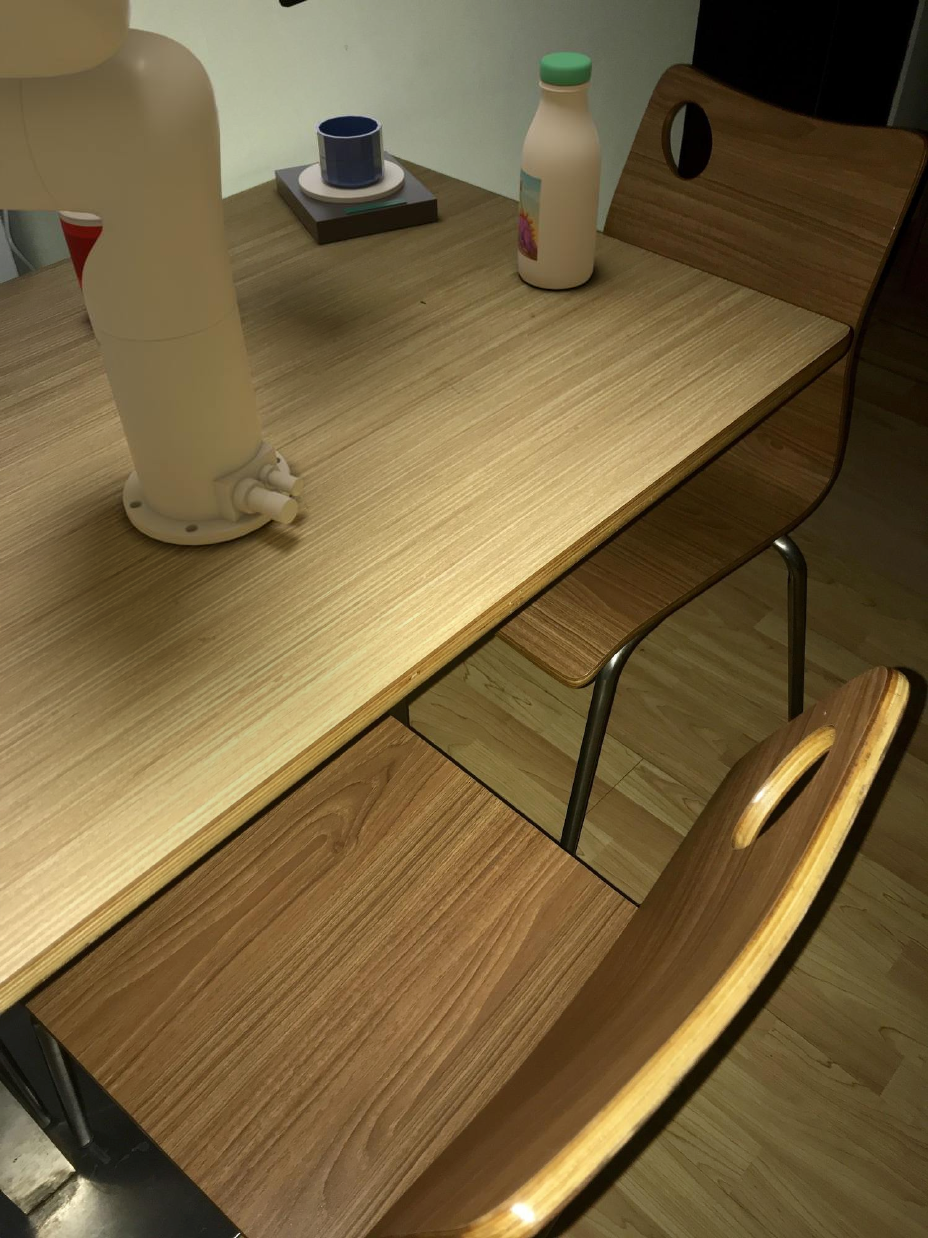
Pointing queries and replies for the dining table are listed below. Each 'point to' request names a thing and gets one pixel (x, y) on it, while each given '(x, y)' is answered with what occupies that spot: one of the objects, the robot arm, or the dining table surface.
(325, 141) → the cup
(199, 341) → the robot arm
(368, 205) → the kitchen scale
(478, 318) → the dining table surface
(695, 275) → the dining table surface
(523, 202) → the milk bottle
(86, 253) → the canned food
